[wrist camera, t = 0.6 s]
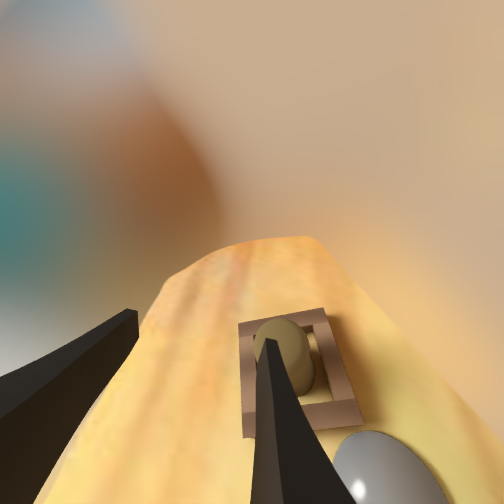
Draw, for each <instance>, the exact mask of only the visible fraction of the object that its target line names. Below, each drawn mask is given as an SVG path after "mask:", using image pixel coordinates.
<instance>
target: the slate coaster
mask: <svg viewBox="0 0 504 504" xmlns="http://www.w3.org/2000/svg"><path fill="white" fill-rule="evenodd" d="M332 465H333V466H334V468H335V470H336V472H337V473H338V475H339V476H340V478H341V480H342V481H343V483H344V484H345V486H346V487H347V489H348V491H349V492H350V494H351V495H352V497H353V498H354V500H355V501H356V503H357V504H449V503H448V501H447V499H446V497H445V495H444V493H443V491H442V489H441V487H440V486H439V484H438V482H437V481H436V479H435V478H434V476H433V475H432V473H431V472H430V471H429V469H428V468H427V467H426V466H425V464H424V463H423V462H422V461H421V460H420V459H419V458H418V457H417V456H416V455H415V454H414V453H413V452H412V451H411V450H410V449H409V448H407V447H406V446H405V445H403V444H402V443H401V442H399V441H398V440H396V439H394V438H392V437H390V436H388V435H386V434H383V433H379V432H375V431H360V432H356V433H354V434H351V435H350V436H348V437H347V438H346V439H345V440H344V441H343V442H342V443H341V444H340V446H339V447H338V449H337V451H336V454H335V457H334V460H333V464H332Z"/></svg>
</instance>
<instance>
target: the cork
mask: <svg viewBox="0 0 504 504" xmlns="http://www.w3.org/2000/svg"><path fill="white" fill-rule="evenodd" d="M265 338H270V339H274V340H277V342H278V345H279V349H280V352H281V356H282V359H283V362H284V365H285V368H286V371H287V373H288V376H289V378H290V381H291V384H292V386H293V389H294V391H295V393H296V396H297V397H299V396H301V395H304V394H305V393H306V392H308V391H309V390H310V389H311V387H312V385H313V383H314V380H315V373H316V371H315V365H314V362H313V360H312V357H311V355H310V347H309V340H308V338H307V336H306V334H305V332H304V331H303V330H302V329H301V327H300V326H299V325H298V324H296V323H295V322H293V321H291V320H289V319H285V318H275V319H272V320H269V321H267V322H266V323H265V324H263V325H262V326H261V327H260V329H259V330H258V332H257V333H256V336H255V339H254V354H255V358H256V361H257V363H258V359H259V356H260V353H261V350H262V347H263V344H264V341H265Z"/></svg>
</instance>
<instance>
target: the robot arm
mask: <svg viewBox="0 0 504 504" xmlns="http://www.w3.org/2000/svg"><path fill="white" fill-rule="evenodd" d="M138 338H139V326H138V311H136V310H131V309H125V310H123V311H122V312H120V313H118V314H117V315H115V316H113V317H112V318H110V319H109V320H107V321H106V322H104V323H102V324H101V325H99V326H97V327H96V328H94V329H92V330H90V331H89V332H87V333H85V334H84V335H82V336H80V337H79V338H77V339H75V340H73V341H71V342H70V343H68V344H66V345H64V346H62V347H61V348H59V349H57V350H55V351H53V352H51V353H50V354H48V355H46V356H44V357H42V358H40V359H38V360H36V361H33V362H32V363H29V364H27V365H26V366H23V367H21V368H19V369H17V370H15V371H13V372H10V373H8V374H6V375H3V376H1V377H0V504H33V503H34V501H35V499H36V497H37V495H38V494H39V492H40V490H41V488H42V487H43V485H44V483H45V481H46V480H47V478H48V476H49V475H50V473H51V471H52V469H53V468H54V466H55V464H56V462H57V460H58V459H59V457H60V456H61V454H62V452H63V451H64V449H65V447H66V446H67V444H68V442H69V441H70V439H71V438H72V436H73V434H74V433H75V431H76V429H77V428H78V426H79V425H80V423H81V421H82V420H83V418H84V417H85V415H86V414H87V412H88V410H89V408H91V406H92V405H93V403H94V402H95V400H96V399H97V398H98V396H99V395H100V394H101V392H102V391H103V389H104V388H105V387H106V385H107V384H108V383H109V381H110V380H111V379H112V377H113V376H114V375H115V373H116V372H117V371H118V369H119V368H120V367H121V365H122V364H123V362H124V361H125V360H126V358H127V357H128V355H129V354H130V352H131V351H132V349H133V347H134V345H135V344H136V342H137V340H138ZM250 504H357V503H356V501H355V500H354V498H353V497H352V495H351V494H350V492H349V491H348V489H347V487H346V486H345V484H344V483H343V481H342V480H341V478H340V476H339V475H338V473H337V472H336V470H335V468H334V466H333V465H332V463H331V461H330V460H329V458H328V456H327V454H326V453H325V451H324V449H323V448H322V446H321V444H320V442H319V441H318V439H317V437H316V435H315V433H314V431H313V429H312V427H311V425H310V423H309V421H308V419H307V417H306V415H305V413H304V411H303V409H302V407H301V405H300V403H299V400H298V398H297V396H296V393H295V391H294V389H293V386H292V384H291V381H290V378H289V376H288V373H287V371H286V368H285V365H284V362H283V359H282V356H281V352H280V349H279V345H278V342H277V340H274V339H270V338H265V341H264V344H263V347H262V350H261V353H260V356H259V359H258V364H257V374H256V433H255V452H254V465H253V478H252V490H251V501H250Z"/></svg>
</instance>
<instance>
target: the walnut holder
mask: <svg viewBox="0 0 504 504" xmlns="http://www.w3.org/2000/svg"><path fill="white" fill-rule="evenodd" d="M275 318H285V319H289V320H291V321H293V322H295V323H296V324H298V325H299V326H300V327H301V329H302V330H303V331H304V332H305V333H306V332H312V331H313V333H314V336H315V340H316V343H317V347H318V350H319V353H320V357H321V360H322V364H323V367H324V370H325V374H326V377H327V381H328V384H329V388H330V391H331V394H332V398H333V401H331V402H323V403H316V404H308V405H301V407H302V409H303V411H304V413H305V415H306V417H307V419H308V421H309V423H310V425H311V427H312V429H313V430H319V429H328V428H337V427H345V426H354V425H363V424H365V423H364V420H363V418H362V415H361V412H360V409H359V406H358V404H357V401H356V398H355V395H354V392H353V390H352V387H351V384H350V381H349V378H348V376H347V373H346V370H345V367H344V364H343V361H342V359H341V356H340V353H339V350H338V347H337V345H336V342H335V339H334V336H333V333H332V331H331V328H330V325H329V322H328V319H327V316H326V314H325V311H324V308H317V309H312V310H307V311H301V312H296V313H291V314H286V315H280V316H275V317H270V318H264V319H259V320H254V321H248V322H243V323H238V329H239V354H240V379H241V404H242V429H243V438H250V437H255V433H256V374H257V364H258V363H257V361H256V358H255V354H254V339H255V336H256V333H257V332H258V330H259V329H260V327H261V326H262V325H263V324H265V323H266V322H267V321H269V320H272V319H275Z"/></svg>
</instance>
